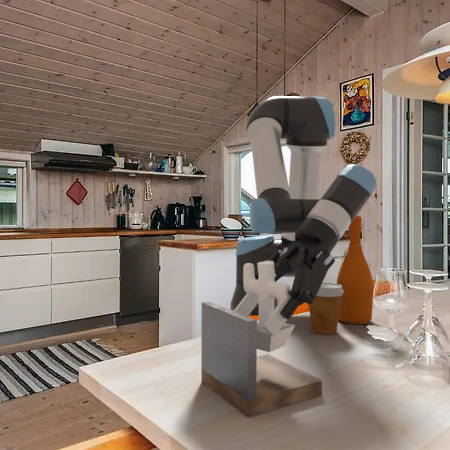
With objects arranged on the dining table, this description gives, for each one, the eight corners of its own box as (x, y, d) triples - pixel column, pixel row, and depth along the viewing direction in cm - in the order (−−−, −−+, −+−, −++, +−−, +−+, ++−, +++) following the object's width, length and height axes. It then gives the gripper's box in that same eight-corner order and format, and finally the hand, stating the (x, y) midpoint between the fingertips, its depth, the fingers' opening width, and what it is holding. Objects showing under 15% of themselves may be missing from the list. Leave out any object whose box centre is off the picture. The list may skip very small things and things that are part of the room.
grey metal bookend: (208, 366, 76) (208, 301, 76) (256, 398, 63) (256, 320, 63) (201, 368, 75) (201, 302, 75) (248, 400, 63) (248, 321, 62)
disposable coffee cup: (351, 332, 107) (351, 286, 106) (325, 339, 101) (326, 290, 101) (323, 324, 115) (323, 281, 114) (297, 329, 109) (298, 284, 109)
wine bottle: (352, 315, 125) (353, 215, 124) (380, 322, 117) (381, 215, 116) (328, 319, 120) (330, 215, 119) (355, 327, 112) (357, 215, 111)
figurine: (277, 357, 67) (276, 265, 67) (232, 346, 74) (232, 261, 73) (300, 347, 73) (300, 261, 72) (257, 336, 79) (257, 258, 79)
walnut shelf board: (268, 366, 83) (268, 354, 83) (321, 395, 70) (321, 380, 70) (201, 382, 76) (201, 368, 75) (248, 417, 63) (248, 400, 63)
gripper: (377, 247, 71) (306, 355, 64) (294, 240, 90) (231, 323, 82) (356, 216, 68) (279, 326, 61) (275, 215, 87) (208, 299, 79)
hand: (252, 324), depth 71 cm, fingers closed on figurine, 9 cm apart
